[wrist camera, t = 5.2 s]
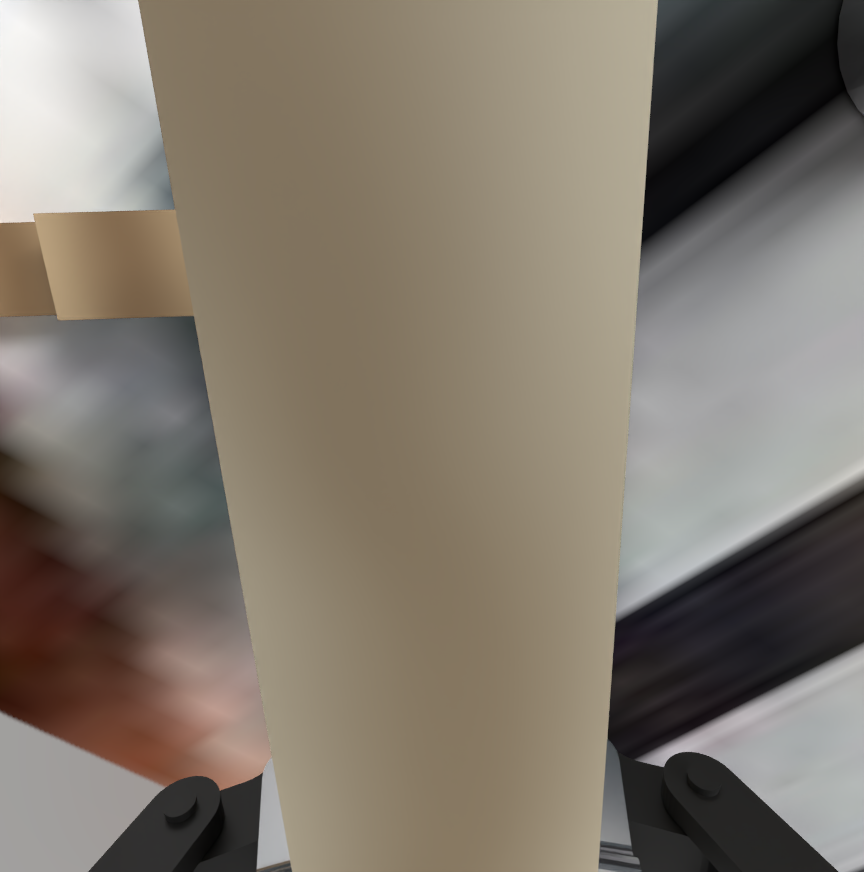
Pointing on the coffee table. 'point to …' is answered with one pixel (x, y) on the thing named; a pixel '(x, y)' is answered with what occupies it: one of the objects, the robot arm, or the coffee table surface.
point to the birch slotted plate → (419, 398)
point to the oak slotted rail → (94, 266)
